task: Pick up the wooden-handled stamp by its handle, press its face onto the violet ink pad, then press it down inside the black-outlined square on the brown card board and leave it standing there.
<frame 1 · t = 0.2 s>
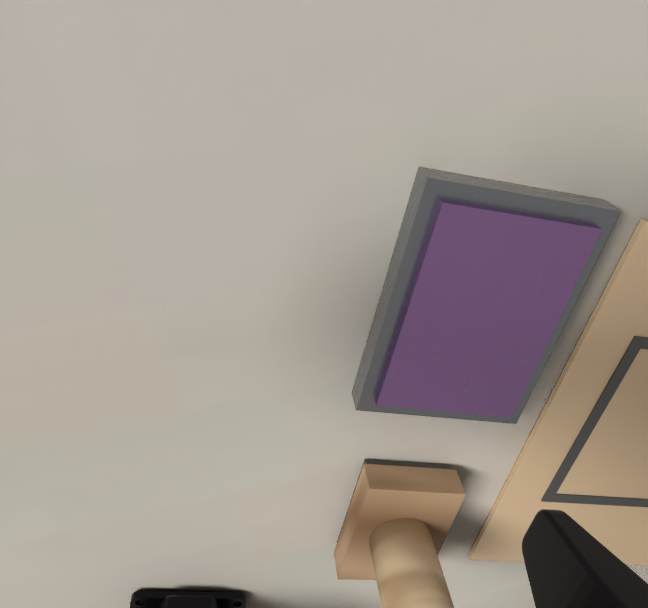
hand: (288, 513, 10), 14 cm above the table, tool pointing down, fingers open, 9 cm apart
stamp: (390, 503, 32), on the table
ink pad: (468, 303, 25), on the table
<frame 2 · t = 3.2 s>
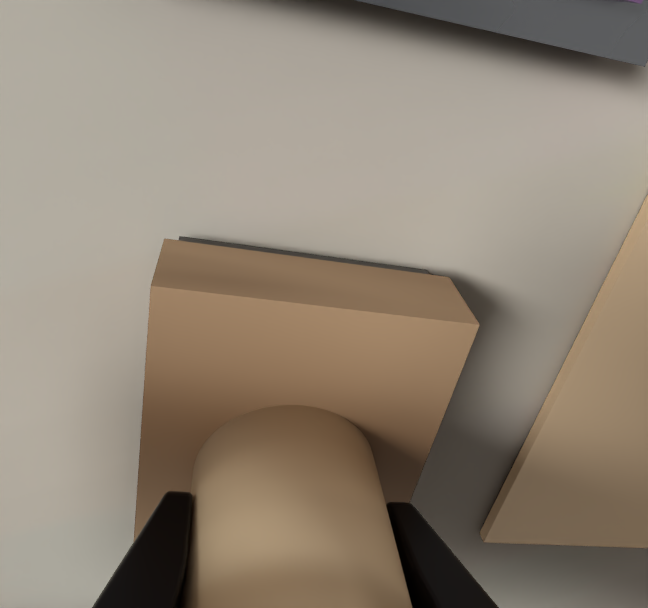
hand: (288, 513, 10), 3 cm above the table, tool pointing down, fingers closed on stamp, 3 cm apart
stamp: (278, 394, 12), on the table, touching gripper
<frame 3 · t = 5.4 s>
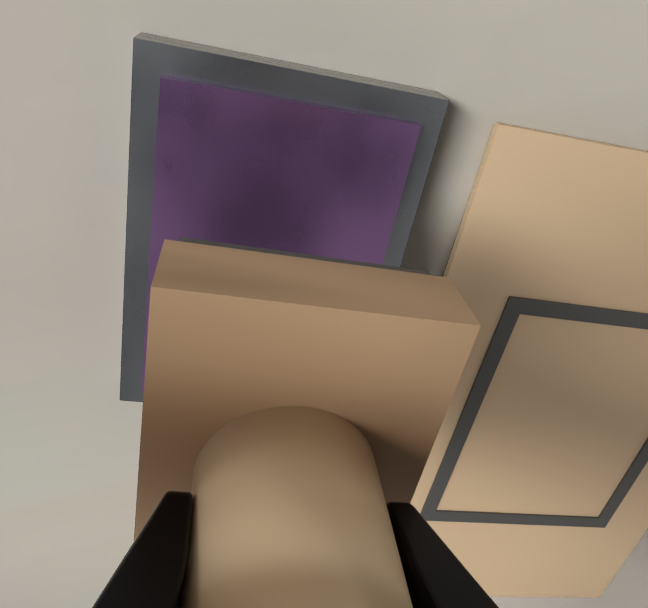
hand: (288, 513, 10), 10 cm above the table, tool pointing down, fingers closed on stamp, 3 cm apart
stamp: (279, 395, 12), point 7 cm above the table, touching gripper
stamp board: (560, 423, 24), on the table
ink pad: (265, 249, 18), on the table
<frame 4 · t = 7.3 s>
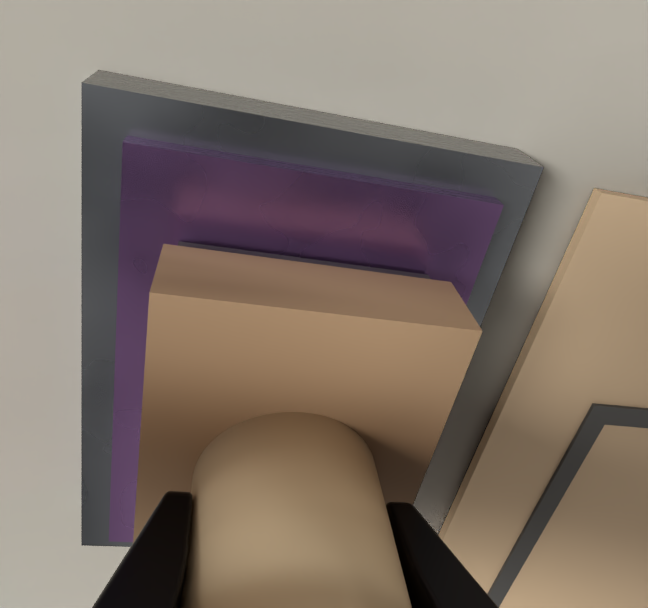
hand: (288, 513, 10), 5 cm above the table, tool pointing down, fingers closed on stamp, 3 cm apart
stamp: (279, 400, 12), point 2 cm above the table, touching gripper
stamp board: (638, 540, 19), on the table
ink pad: (275, 351, 13), on the table
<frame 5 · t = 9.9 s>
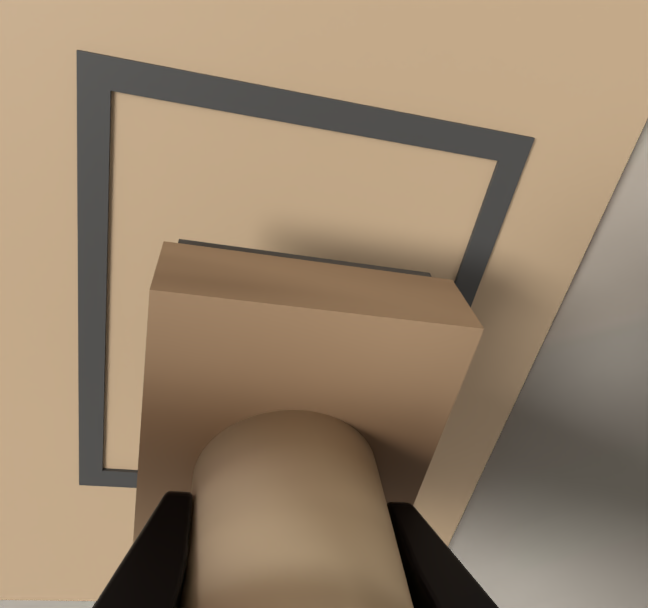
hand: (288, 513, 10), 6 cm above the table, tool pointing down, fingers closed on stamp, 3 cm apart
stamp: (279, 398, 12), point 3 cm above the table, touching gripper
stamp board: (277, 324, 14), on the table
when the fingers open (3 cm above the table, at t = 11.7 s): stamp stays where it is, resting on stamp board.
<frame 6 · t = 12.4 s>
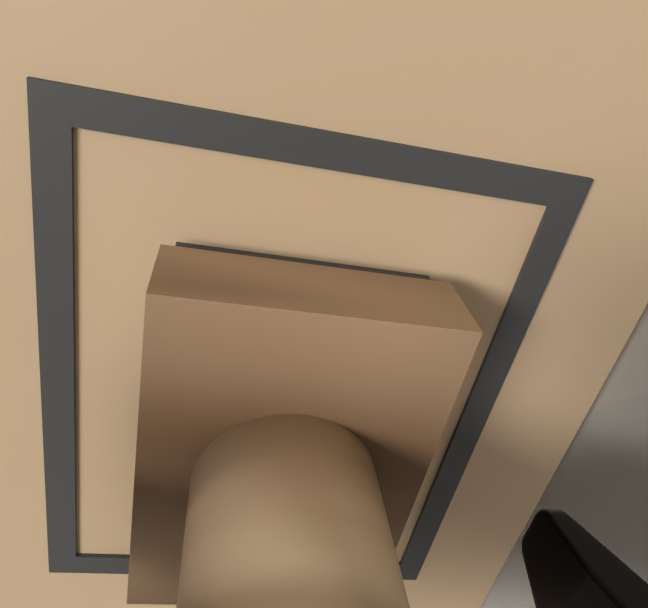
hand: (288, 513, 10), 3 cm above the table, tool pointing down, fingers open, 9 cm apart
stamp: (277, 401, 12), resting on stamp board
stamp board: (279, 392, 12), on the table
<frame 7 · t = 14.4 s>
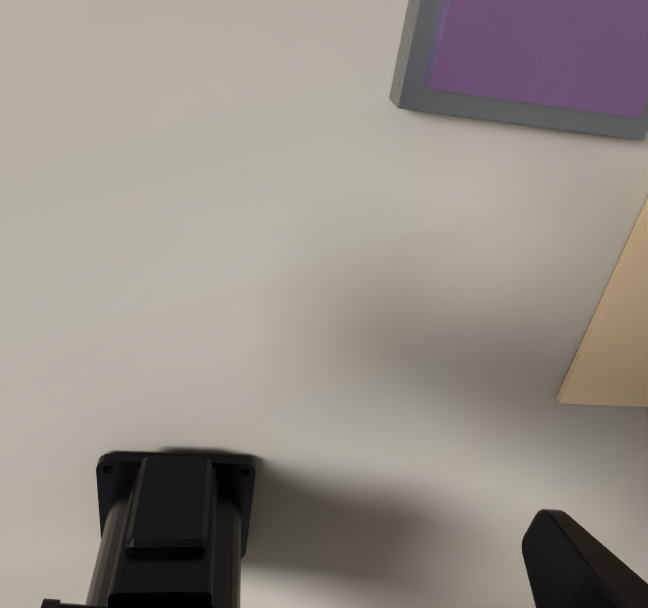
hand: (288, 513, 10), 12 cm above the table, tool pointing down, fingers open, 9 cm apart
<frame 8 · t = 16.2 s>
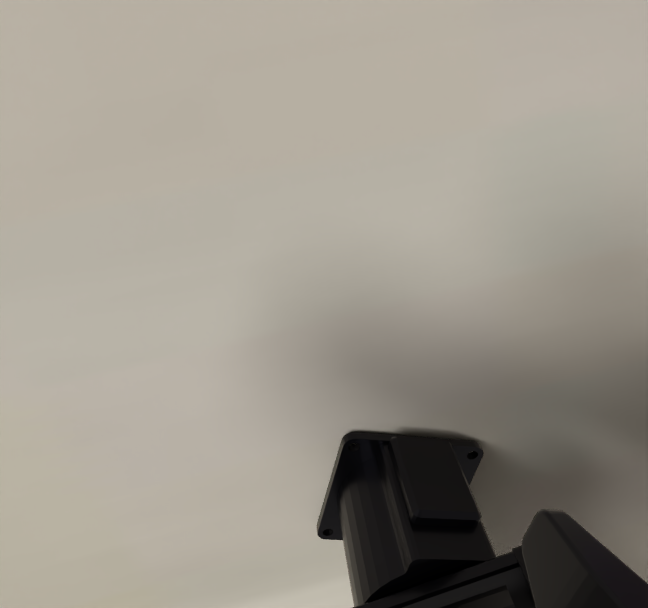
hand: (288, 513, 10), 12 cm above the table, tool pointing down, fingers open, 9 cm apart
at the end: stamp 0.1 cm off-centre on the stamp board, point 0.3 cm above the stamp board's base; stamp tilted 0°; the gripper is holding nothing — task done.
